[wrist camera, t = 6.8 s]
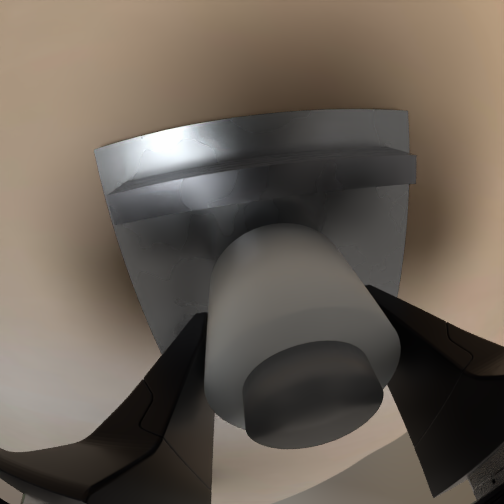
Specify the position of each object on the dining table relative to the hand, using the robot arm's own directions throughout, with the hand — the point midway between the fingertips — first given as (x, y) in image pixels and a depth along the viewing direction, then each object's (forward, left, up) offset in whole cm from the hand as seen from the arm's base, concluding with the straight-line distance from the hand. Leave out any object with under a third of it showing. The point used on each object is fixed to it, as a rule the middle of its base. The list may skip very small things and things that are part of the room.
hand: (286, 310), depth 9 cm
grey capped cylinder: (0, 0, -1) cm, 1 cm away
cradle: (0, 0, -3) cm, 3 cm away
